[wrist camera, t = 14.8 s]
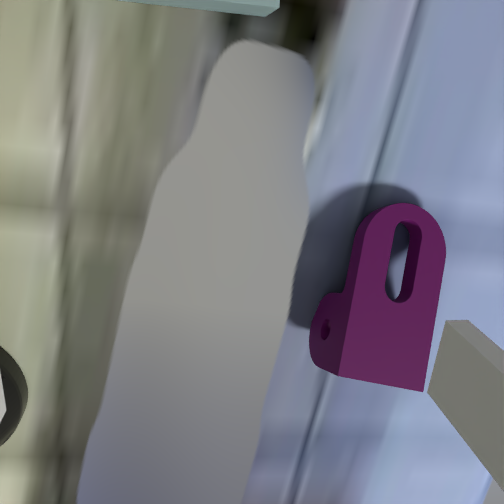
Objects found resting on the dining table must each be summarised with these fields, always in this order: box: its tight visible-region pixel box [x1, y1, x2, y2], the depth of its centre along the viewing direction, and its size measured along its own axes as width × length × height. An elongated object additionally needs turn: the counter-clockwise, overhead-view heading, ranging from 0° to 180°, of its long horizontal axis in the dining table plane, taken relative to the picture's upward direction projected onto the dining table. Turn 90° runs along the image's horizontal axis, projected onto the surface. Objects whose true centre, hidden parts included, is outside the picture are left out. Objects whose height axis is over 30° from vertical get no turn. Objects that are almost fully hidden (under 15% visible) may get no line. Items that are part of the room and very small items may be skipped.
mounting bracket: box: [309, 203, 446, 392], centre depth 48 cm, size 9×8×18 cm
